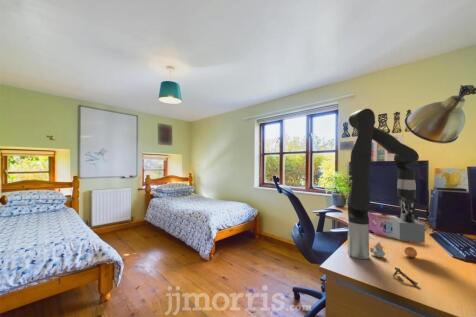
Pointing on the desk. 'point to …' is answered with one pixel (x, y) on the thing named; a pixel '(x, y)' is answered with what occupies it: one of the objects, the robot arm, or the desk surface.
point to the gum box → (381, 224)
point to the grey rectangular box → (408, 229)
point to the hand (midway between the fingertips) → (406, 220)
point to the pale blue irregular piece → (377, 250)
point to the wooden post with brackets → (404, 276)
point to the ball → (410, 252)
